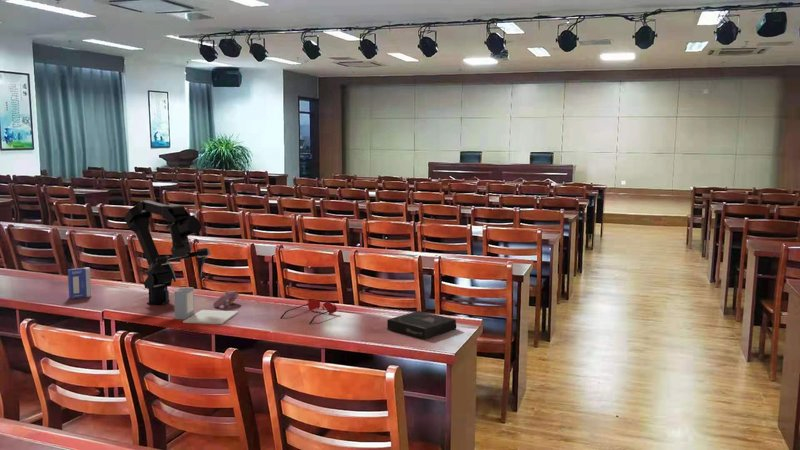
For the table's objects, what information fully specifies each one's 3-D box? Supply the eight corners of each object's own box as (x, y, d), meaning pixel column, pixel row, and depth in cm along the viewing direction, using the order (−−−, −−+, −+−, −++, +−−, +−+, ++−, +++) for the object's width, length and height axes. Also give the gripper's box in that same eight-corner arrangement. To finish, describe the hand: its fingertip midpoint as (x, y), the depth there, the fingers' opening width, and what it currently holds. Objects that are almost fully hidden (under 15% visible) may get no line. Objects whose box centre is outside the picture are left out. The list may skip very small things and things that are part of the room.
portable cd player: (456, 330, 214) (456, 319, 213) (424, 341, 201) (424, 329, 201) (419, 321, 225) (419, 310, 224) (387, 331, 212) (387, 319, 212)
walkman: (71, 299, 249) (69, 269, 247) (69, 298, 251) (67, 268, 249) (92, 296, 254) (90, 267, 253) (89, 295, 256) (88, 266, 255)
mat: (182, 322, 217) (182, 321, 217) (202, 311, 233) (201, 309, 233) (221, 324, 216) (221, 322, 216) (238, 312, 232) (238, 311, 232)
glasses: (338, 315, 231) (338, 302, 231) (309, 325, 217) (309, 311, 217) (308, 310, 239) (308, 297, 238) (279, 319, 224) (279, 306, 224)
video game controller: (220, 312, 238) (227, 297, 236) (211, 306, 239) (218, 290, 237) (235, 306, 247) (242, 291, 245) (226, 300, 248) (233, 285, 246)
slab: (175, 318, 222) (174, 291, 221) (183, 313, 229) (183, 287, 228) (186, 319, 222) (185, 291, 220) (194, 314, 229) (194, 287, 227)
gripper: (148, 242, 224) (156, 285, 223) (201, 232, 227) (209, 274, 226) (156, 243, 235) (164, 284, 235) (206, 233, 238) (214, 273, 237)
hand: (187, 279), depth 233 cm, fingers open, 9 cm apart
